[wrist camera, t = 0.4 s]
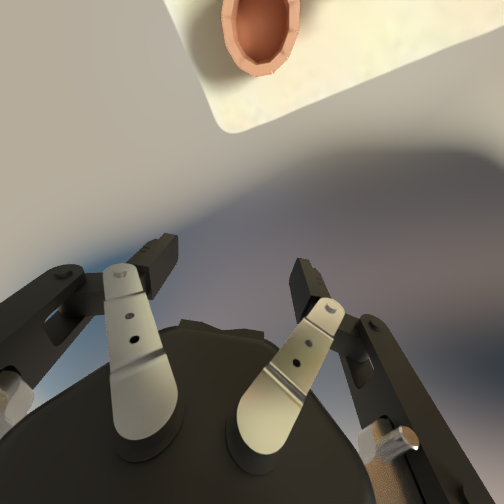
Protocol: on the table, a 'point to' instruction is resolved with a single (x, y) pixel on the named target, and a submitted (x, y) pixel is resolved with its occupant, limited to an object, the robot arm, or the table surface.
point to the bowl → (260, 33)
